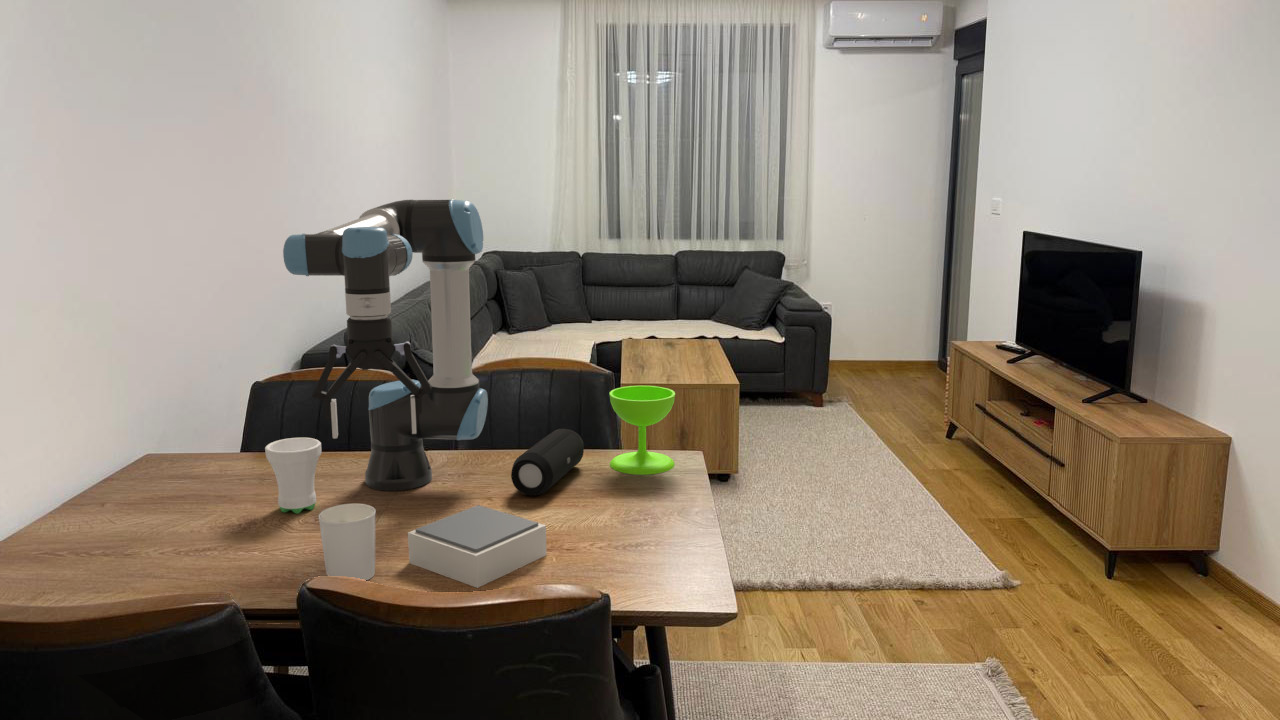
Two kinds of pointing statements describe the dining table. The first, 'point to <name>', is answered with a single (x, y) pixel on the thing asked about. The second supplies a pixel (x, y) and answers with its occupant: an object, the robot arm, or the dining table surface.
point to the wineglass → (642, 426)
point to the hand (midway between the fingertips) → (375, 434)
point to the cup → (295, 471)
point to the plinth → (477, 545)
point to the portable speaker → (547, 462)
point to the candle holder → (349, 540)
